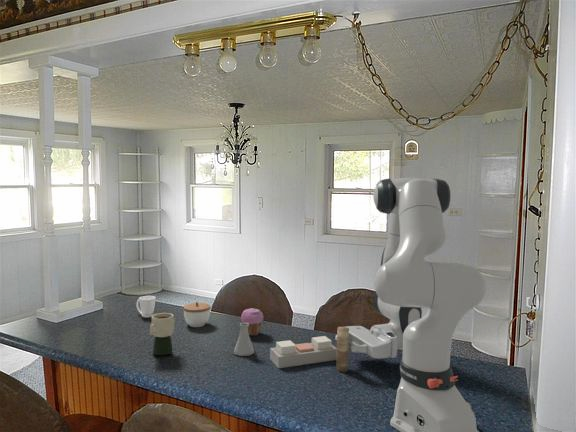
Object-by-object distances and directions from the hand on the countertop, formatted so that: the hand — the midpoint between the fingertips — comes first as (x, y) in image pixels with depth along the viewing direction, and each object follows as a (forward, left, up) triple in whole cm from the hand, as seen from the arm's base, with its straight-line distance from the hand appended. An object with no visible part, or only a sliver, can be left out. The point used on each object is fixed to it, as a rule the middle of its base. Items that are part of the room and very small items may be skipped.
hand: (343, 343), depth 135 cm
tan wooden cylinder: (0, 0, -8) cm, 8 cm away
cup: (+78, +55, -8) cm, 96 cm away
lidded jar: (+58, +36, -8) cm, 69 cm away
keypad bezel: (+11, +9, -8) cm, 16 cm away
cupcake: (+40, +18, -8) cm, 44 cm away
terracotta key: (+11, +9, -7) cm, 15 cm away
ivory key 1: (+11, +15, -5) cm, 19 cm away
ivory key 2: (+11, +2, -5) cm, 12 cm away
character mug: (+31, +52, -8) cm, 61 cm away
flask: (+23, +26, -8) cm, 35 cm away
